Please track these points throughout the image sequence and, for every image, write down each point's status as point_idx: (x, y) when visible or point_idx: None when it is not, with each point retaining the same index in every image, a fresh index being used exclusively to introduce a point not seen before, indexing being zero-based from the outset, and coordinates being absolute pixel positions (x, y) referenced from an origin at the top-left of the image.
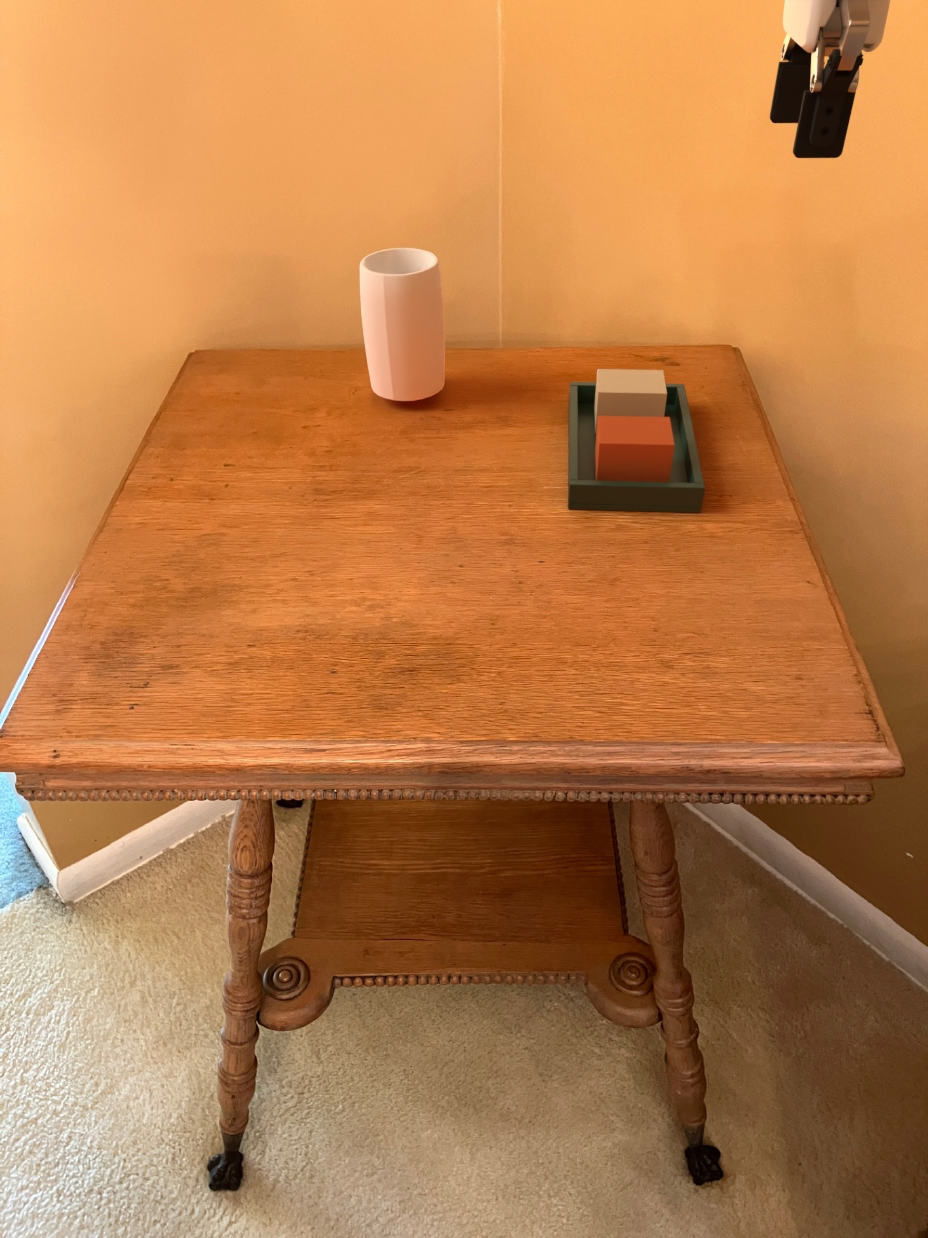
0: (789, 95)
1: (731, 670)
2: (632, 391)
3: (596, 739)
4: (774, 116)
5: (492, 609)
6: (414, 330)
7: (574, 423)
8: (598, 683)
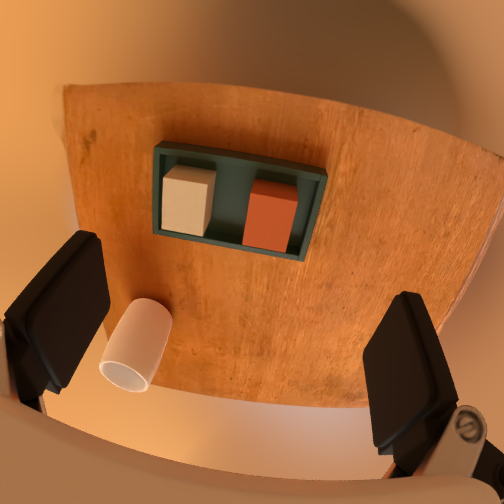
0: (85, 324)
1: (461, 206)
2: (202, 211)
3: (468, 272)
4: (107, 311)
5: (381, 298)
6: (157, 349)
7: (218, 242)
8: (444, 265)
